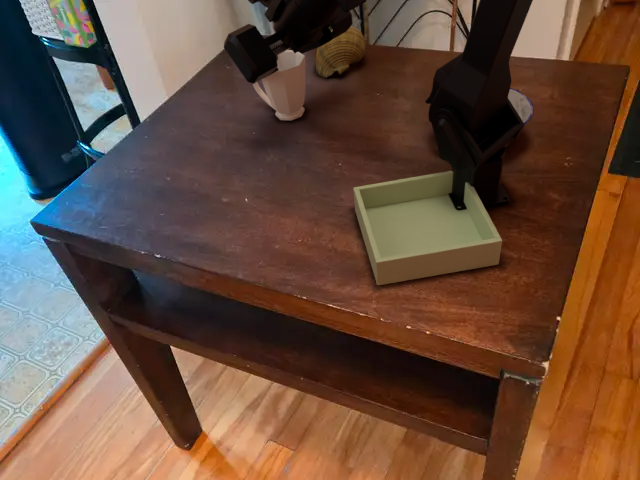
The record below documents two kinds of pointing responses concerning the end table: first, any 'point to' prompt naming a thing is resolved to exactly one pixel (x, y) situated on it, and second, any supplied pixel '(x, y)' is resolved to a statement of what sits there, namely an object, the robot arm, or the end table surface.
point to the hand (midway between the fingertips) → (269, 65)
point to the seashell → (340, 52)
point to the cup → (286, 86)
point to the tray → (424, 228)
